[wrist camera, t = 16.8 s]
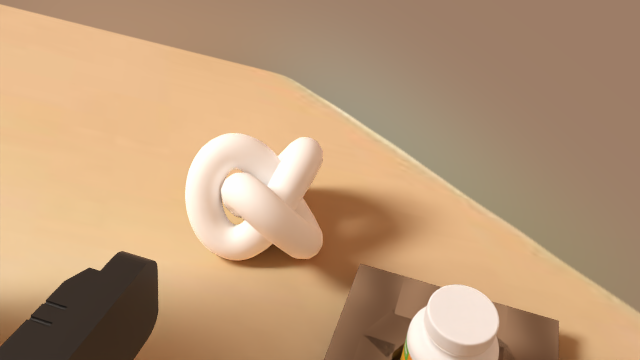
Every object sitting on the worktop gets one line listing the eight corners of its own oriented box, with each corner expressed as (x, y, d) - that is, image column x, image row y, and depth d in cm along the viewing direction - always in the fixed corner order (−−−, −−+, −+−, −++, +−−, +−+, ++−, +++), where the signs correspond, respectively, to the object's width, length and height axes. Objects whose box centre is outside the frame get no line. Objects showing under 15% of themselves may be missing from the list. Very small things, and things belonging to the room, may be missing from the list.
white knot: (363, 255, 45) (373, 176, 39) (234, 317, 40) (223, 237, 34) (296, 179, 52) (296, 103, 46) (180, 224, 47) (164, 144, 41)
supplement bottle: (383, 364, 37) (402, 279, 31) (455, 354, 38) (488, 268, 31) (406, 442, 33) (433, 363, 27) (486, 428, 34) (530, 348, 27)
